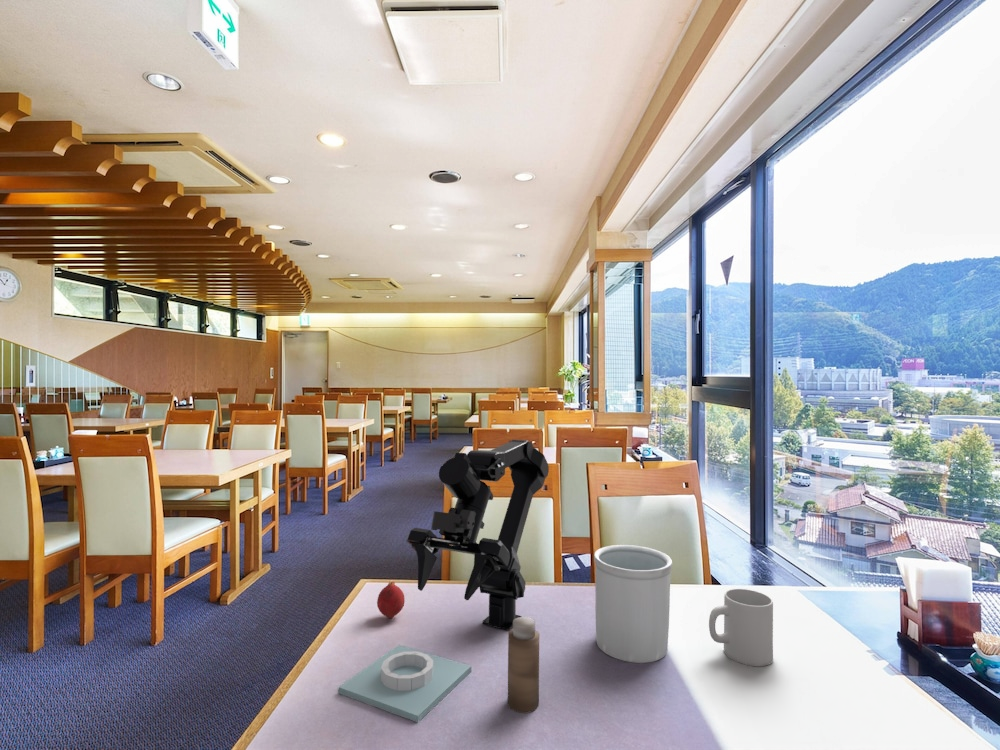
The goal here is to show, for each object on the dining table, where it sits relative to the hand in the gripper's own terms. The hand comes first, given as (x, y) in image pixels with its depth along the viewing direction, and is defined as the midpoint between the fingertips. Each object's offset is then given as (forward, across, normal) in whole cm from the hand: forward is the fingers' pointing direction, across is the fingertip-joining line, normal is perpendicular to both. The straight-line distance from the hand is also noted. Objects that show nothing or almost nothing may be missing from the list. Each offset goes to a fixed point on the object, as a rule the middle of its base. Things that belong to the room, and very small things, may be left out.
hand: (442, 594), depth 92 cm
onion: (+2, -22, +22) cm, 31 cm away
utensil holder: (-5, +27, +31) cm, 41 cm away
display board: (+13, -5, +7) cm, 16 cm away
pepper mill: (+11, +15, +10) cm, 21 cm away
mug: (-8, +46, +35) cm, 58 cm away
